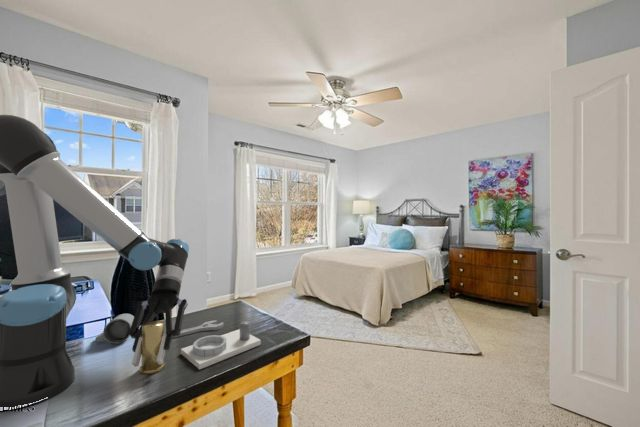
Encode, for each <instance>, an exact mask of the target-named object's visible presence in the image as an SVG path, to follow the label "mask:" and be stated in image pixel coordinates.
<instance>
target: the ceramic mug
mask: <svg viewBox="0 0 640 427" xmlns="http://www.w3.org/2000/svg"><path fill="white" fill-rule="evenodd" d="M134 316H135V315H133V314H131V313H122V314H118V315H116V316H115V317H114V318H113V319H111V321H109V322H108V323H107V324H106V325H105V326H104V328H103V331H102V332H101V333H100V334H98V335H97V336H95V341H96V343H97V342H98V343H99V342H103V341H104V340H105V341H107V342H108V343H110V344H114V345H115V344H120V343H123V342H125V341H126V340H128V338H129V337H131V336H130V335H129V331H130V328H131V325H132V322H133V319H134Z"/></svg>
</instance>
